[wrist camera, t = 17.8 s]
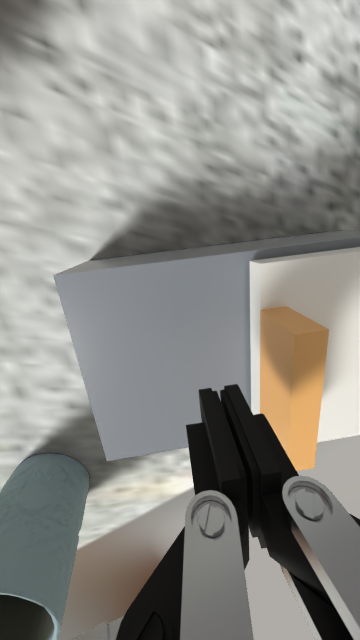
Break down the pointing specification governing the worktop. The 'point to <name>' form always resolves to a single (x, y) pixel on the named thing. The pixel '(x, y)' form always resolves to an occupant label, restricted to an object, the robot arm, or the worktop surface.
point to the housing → (167, 334)
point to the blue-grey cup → (39, 544)
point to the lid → (306, 348)
